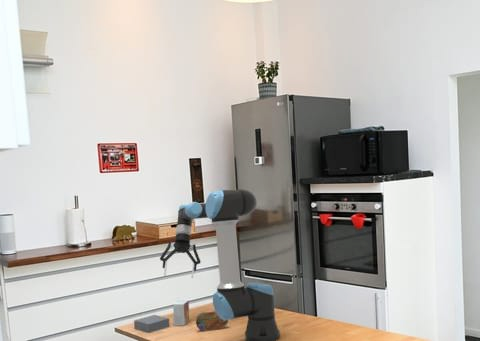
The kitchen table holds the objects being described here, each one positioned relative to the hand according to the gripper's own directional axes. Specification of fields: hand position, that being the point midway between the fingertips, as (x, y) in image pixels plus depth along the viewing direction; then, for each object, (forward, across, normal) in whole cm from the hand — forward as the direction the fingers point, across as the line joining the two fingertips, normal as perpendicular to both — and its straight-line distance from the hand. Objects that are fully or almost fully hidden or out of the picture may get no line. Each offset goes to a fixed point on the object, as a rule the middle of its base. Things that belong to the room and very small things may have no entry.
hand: (178, 276), depth 238 cm
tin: (+24, -18, +5) cm, 31 cm away
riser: (+24, +10, -7) cm, 27 cm away
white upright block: (+22, -4, -9) cm, 24 cm away
